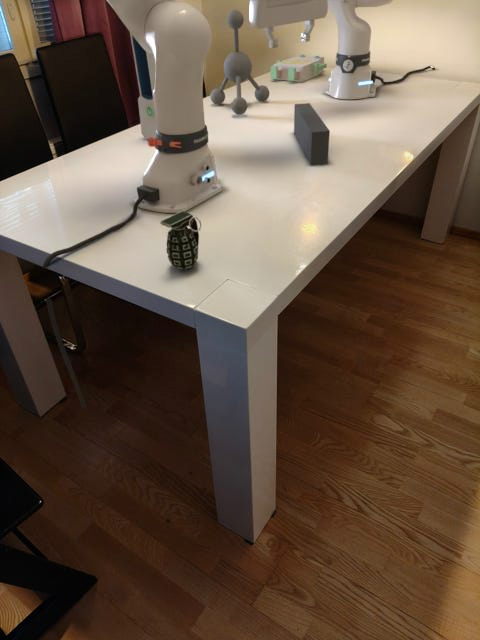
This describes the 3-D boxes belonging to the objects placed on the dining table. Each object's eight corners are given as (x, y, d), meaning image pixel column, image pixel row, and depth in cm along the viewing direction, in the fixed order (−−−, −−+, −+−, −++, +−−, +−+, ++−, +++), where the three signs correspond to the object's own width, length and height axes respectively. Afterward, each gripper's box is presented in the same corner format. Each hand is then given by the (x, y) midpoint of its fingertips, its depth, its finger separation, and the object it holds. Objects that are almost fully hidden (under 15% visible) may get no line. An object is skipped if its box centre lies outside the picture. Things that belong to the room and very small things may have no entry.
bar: (327, 163, 129) (329, 130, 124) (310, 165, 129) (312, 132, 124) (308, 132, 151) (309, 103, 145) (293, 133, 151) (294, 104, 145)
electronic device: (141, 137, 154) (123, 28, 136) (159, 131, 158) (144, 24, 140) (166, 145, 147) (151, 30, 129) (185, 138, 151) (172, 26, 133)
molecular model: (288, 106, 174) (289, 7, 156) (237, 118, 165) (232, 15, 147) (250, 94, 190) (247, 3, 172) (202, 105, 181) (193, 10, 163)
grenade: (182, 278, 88) (175, 228, 82) (162, 268, 91) (153, 219, 85) (208, 263, 92) (203, 214, 85) (187, 253, 95) (181, 205, 89)
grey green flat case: (293, 53, 221) (333, 55, 211) (293, 68, 225) (332, 72, 215) (262, 63, 205) (303, 67, 195) (262, 80, 209) (303, 84, 199)
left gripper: (318, -29, 117) (317, 36, 126) (244, -20, 110) (248, 49, 119) (334, -29, 113) (331, 39, 121) (257, -19, 106) (260, 53, 115)
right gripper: (366, -59, 136) (361, 0, 144) (293, -54, 135) (292, 5, 143) (373, -59, 131) (367, 2, 139) (297, -54, 130) (296, 7, 138)
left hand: (289, 44), depth 120 cm, fingers open, 8 cm apart
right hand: (329, 4), depth 141 cm, fingers open, 8 cm apart
